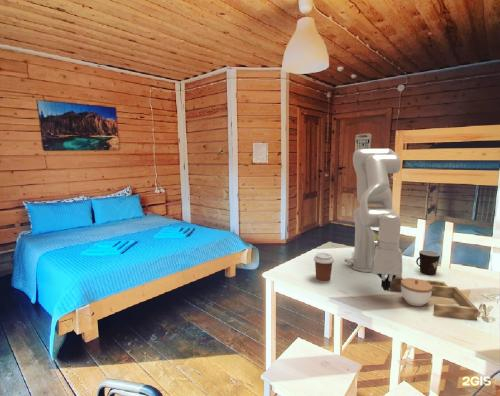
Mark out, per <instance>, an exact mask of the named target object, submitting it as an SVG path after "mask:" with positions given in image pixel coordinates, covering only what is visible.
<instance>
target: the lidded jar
mask: <svg viewBox="0 0 500 396" xmlns="http://www.w3.org/2000/svg"><path fill="white" fill-rule="evenodd" d="M423 280H424V279H419V278H415V277H405V278H403V279H402V280H401V292H400V293H401V296H402V297H403V299H404V300H405V302H406V303H408V304H409V305H411V306H414V307H423V306H424V305H426V304H427V303H428V302H430V300H431V297H432V295H431V294H432V288H433V287H432V285H431V284H430V283H428V282H426V281H423Z"/></svg>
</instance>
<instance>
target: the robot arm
mask: <svg viewBox="0 0 500 396" xmlns="http://www.w3.org/2000/svg"><path fill="white" fill-rule="evenodd" d="M352 155H353V156H352V165H353V168H354V171H355V174H356V198H357V202H358V203H359V207H357V208H355V210H354V211H353V212H354V213H353V219H354V228H355V229H354V231H355V232H354V252H353V254H354V255H353V256H352V257H351V258H348V257H347V258H345V257H344V260H343V261H344V263H345V262H346V263H347V264H350V268H351V269H353V270H355V271H357V272H361V273H372V275H373V276H378V277H379V278H380V279H381V283H380V284H381V285H380V287H381V288H383V291H390V289H389V288H390V282H391V281H392V279H394V278H395V277H401V276H402V274H403V253H402V249H401V248H400V238H401V227H402V226H401V225H402V223H401V222H402V217H401V216H400V215H399V214H398V213H397V211H395V210H394V209H393V192H392V190H391V188H390V185H391V184H390V181H389V179H390V178H389V174H397V173H400V170H401V169H402V160H401V158H400V156H399V154H397V153H396V152H395V151H393V149H392V148H391V149H390V148H384V147H383V148H382V147H381V148H376V147H375V148H372V147H371V148H370V147H369V148H360V149H357V150H355V151H354V152H353V154H352ZM368 205H380V206H368ZM372 228H378V232H377V233H378V240H377V241H375V234H376V233H375V232H374V230H373V229H372ZM375 245H377V246H376V248H375Z"/></svg>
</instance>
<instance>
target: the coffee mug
mask: <svg viewBox="0 0 500 396" xmlns="http://www.w3.org/2000/svg"><path fill="white" fill-rule="evenodd" d="M418 252H419V253H418V254H419V256H418V257H417V258H416V261H415V263H416V265H417V266H418V267H419V271H420V273H421V274H423V275H426V276H435V275H436V274H437V271H438V266H439V261H440V257H441V254H440V253H439V252H437V251H435V250H429V249H421V250H419V251H418ZM418 262H419V263H418Z"/></svg>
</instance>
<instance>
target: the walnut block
mask: <svg viewBox="0 0 500 396" xmlns="http://www.w3.org/2000/svg"><path fill="white" fill-rule="evenodd" d="M402 279H404V277H402V276H401V277H395V278H394V279H392V281H391V282H390V288H389V291H390V292H393V293H394V292H395V293H401V280H402Z"/></svg>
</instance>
